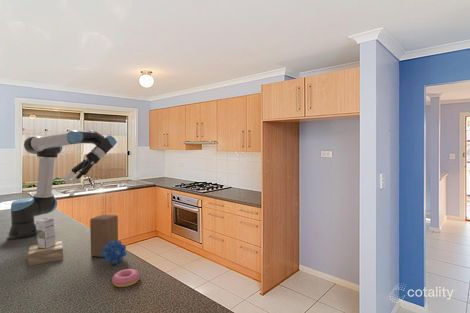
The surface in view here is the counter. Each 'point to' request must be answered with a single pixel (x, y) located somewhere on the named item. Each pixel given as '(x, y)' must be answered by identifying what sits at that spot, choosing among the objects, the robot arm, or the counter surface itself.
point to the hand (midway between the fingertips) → (68, 181)
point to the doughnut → (125, 277)
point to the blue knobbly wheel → (114, 252)
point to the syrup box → (45, 232)
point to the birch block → (45, 254)
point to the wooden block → (103, 232)
